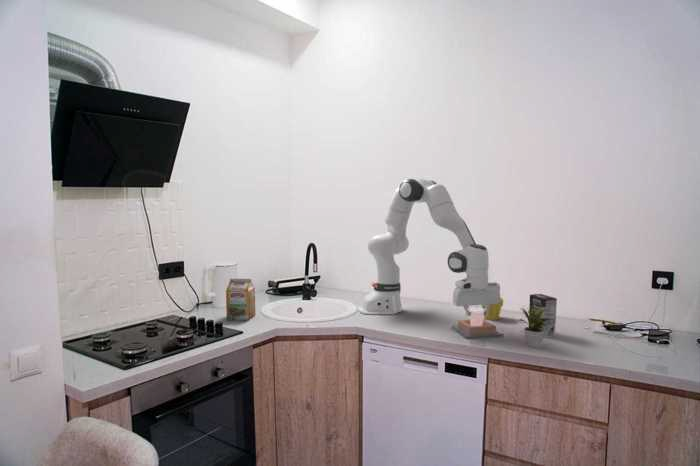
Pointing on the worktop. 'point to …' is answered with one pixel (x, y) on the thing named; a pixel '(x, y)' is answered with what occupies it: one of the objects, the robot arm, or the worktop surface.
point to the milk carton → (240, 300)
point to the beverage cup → (476, 316)
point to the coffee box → (545, 311)
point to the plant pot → (493, 310)
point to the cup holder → (476, 330)
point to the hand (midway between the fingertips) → (476, 315)
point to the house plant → (534, 327)
